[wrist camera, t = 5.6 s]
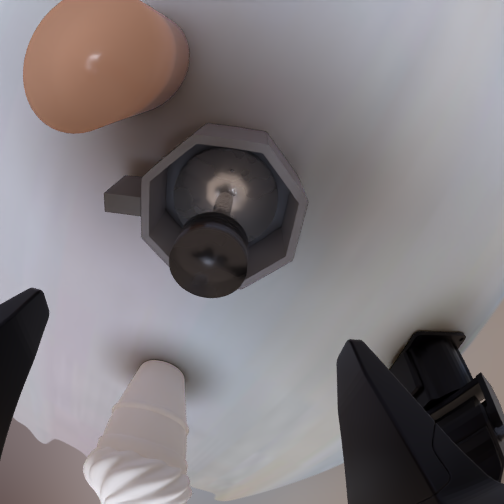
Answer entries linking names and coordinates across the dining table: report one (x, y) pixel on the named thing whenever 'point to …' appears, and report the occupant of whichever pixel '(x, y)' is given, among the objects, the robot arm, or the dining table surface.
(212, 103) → the dining table surface
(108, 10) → the peach rounded capsule
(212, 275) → the plunger
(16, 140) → the dining table surface
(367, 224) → the dining table surface
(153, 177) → the gray octagonal container
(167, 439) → the soft serve ice cream cone
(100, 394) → the dining table surface
